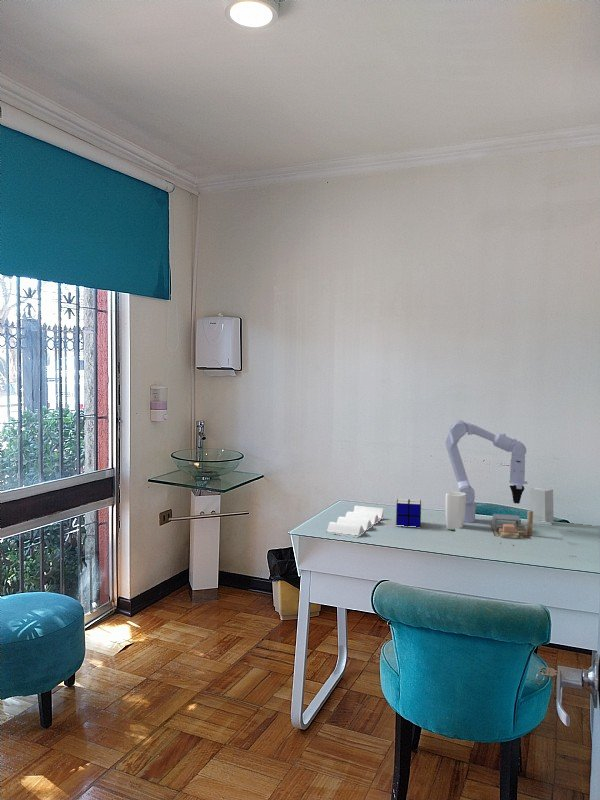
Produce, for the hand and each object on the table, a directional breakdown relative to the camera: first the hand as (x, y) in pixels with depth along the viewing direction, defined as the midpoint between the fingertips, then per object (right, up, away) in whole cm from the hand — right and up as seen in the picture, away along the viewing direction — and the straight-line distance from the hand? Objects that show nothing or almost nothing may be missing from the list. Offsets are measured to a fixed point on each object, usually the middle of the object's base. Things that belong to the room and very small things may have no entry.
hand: (516, 503), depth 261 cm
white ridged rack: (-67, -10, -1) cm, 68 cm away
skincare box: (+14, -10, +11) cm, 21 cm away
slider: (-6, -9, -19) cm, 22 cm away
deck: (-6, -11, -10) cm, 16 cm away
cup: (-27, -10, -4) cm, 29 cm away
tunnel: (-7, -9, -9) cm, 15 cm away
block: (-9, -10, -18) cm, 22 cm away
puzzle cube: (-45, -10, +3) cm, 46 cm away
